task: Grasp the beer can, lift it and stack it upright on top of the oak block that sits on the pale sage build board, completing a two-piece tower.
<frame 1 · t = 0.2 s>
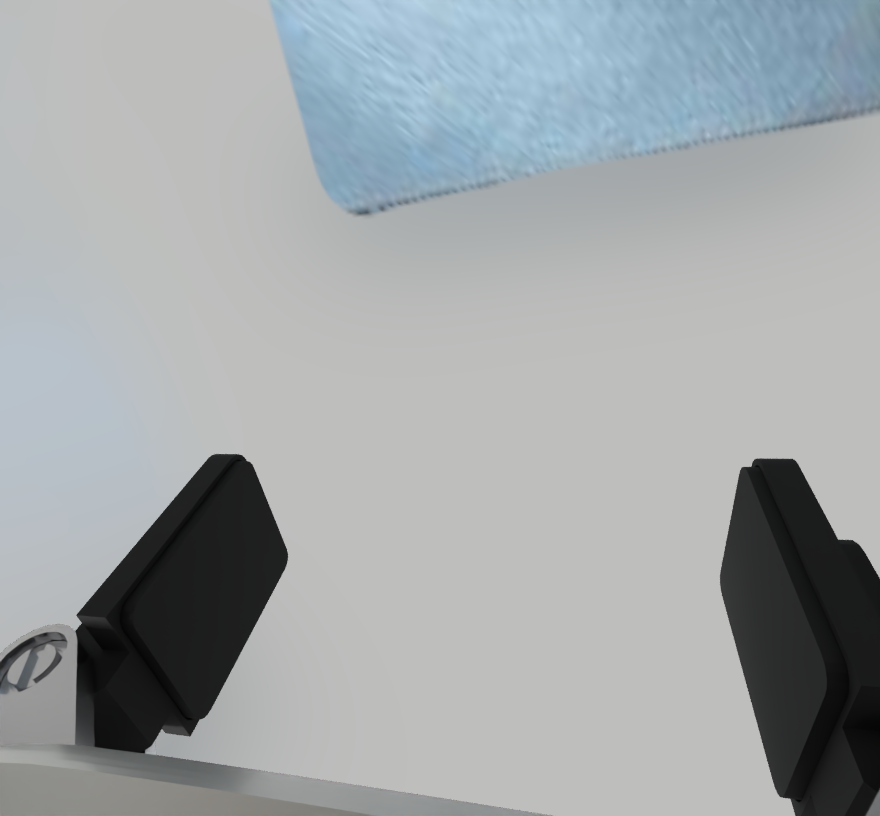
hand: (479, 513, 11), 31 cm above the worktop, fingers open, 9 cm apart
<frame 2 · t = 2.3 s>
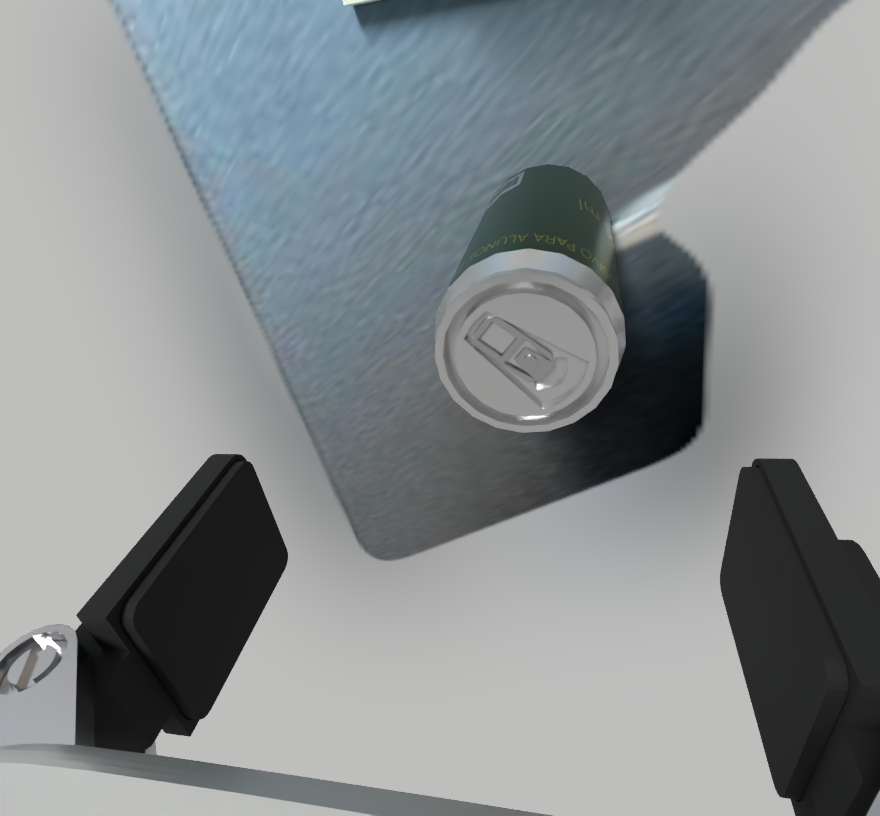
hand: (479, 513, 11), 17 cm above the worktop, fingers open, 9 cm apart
beer can: (546, 224, 25), on the worktop
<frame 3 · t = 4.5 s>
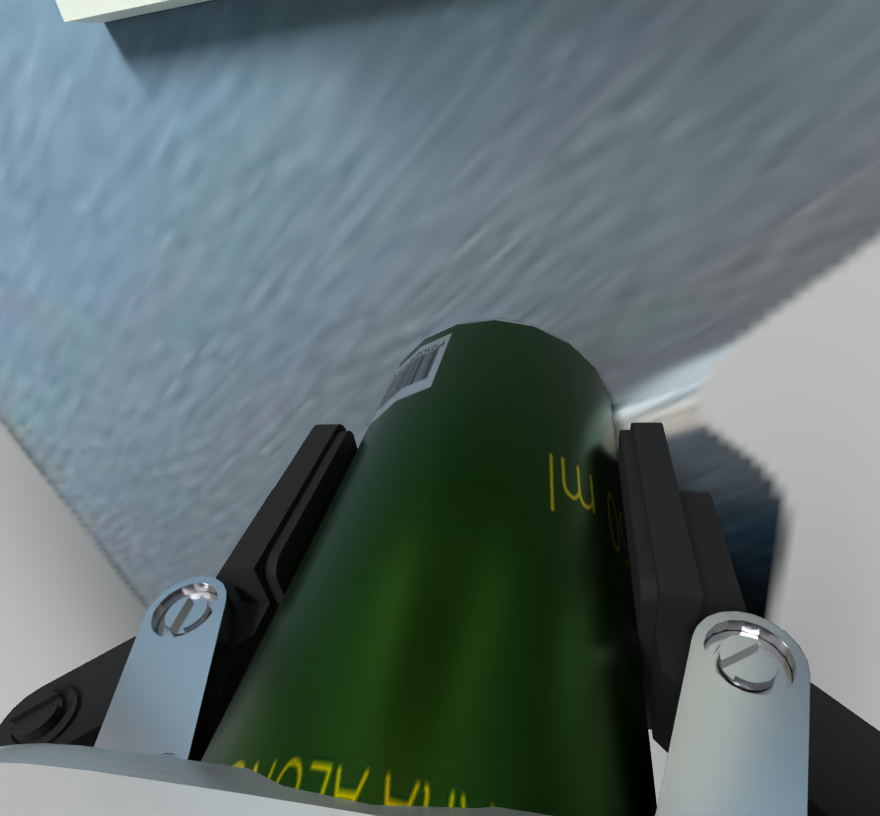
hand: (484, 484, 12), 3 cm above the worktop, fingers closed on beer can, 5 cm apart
beer can: (500, 401, 14), on the worktop, touching gripper
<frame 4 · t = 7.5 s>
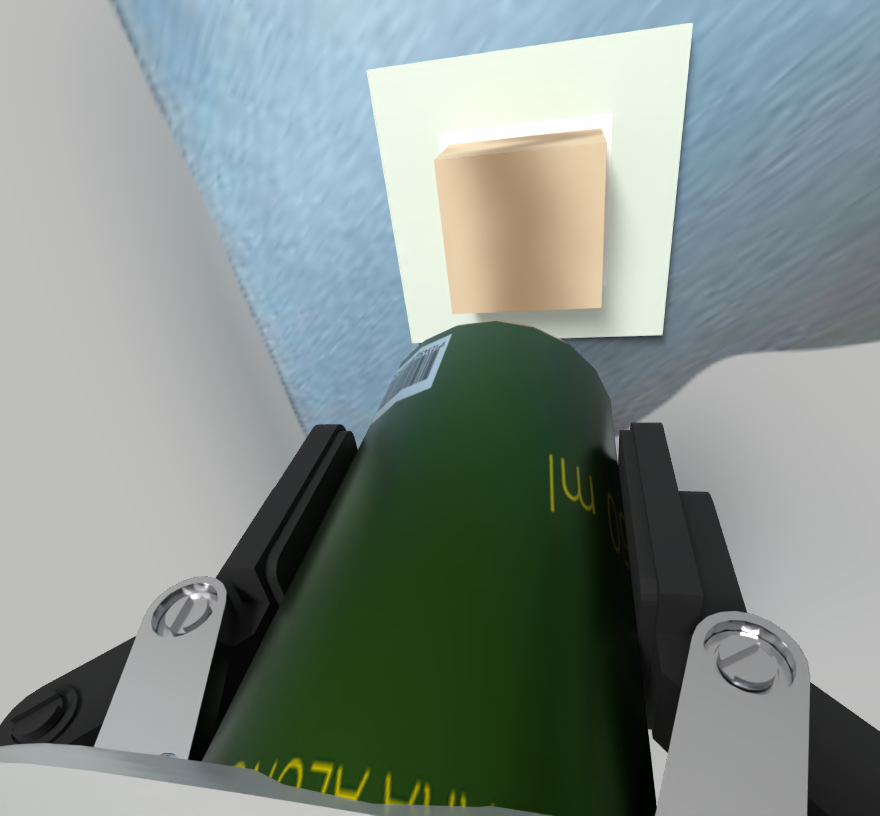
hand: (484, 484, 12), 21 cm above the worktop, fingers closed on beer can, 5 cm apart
oak block: (526, 213, 28), point 1 cm above the worktop, touching build board
build board: (527, 207, 29), on the worktop
beer can: (500, 402, 14), point 18 cm above the worktop, touching gripper
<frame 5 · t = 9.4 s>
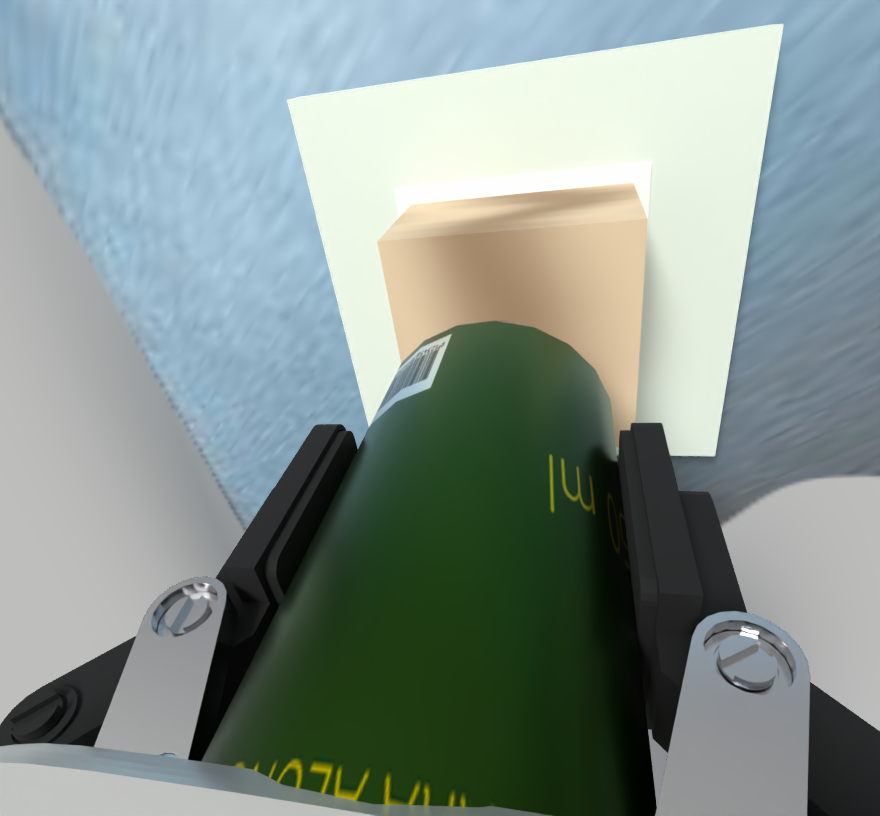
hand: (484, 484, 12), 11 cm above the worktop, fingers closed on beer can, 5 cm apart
oak block: (523, 297, 20), point 1 cm above the worktop, touching build board
build board: (525, 286, 20), on the worktop
beer can: (499, 402, 14), point 8 cm above the worktop, touching gripper
when the fingers open (9 cm above the worktop, at t = 10.6 s): beer can drops 1 cm, resting on oak block.
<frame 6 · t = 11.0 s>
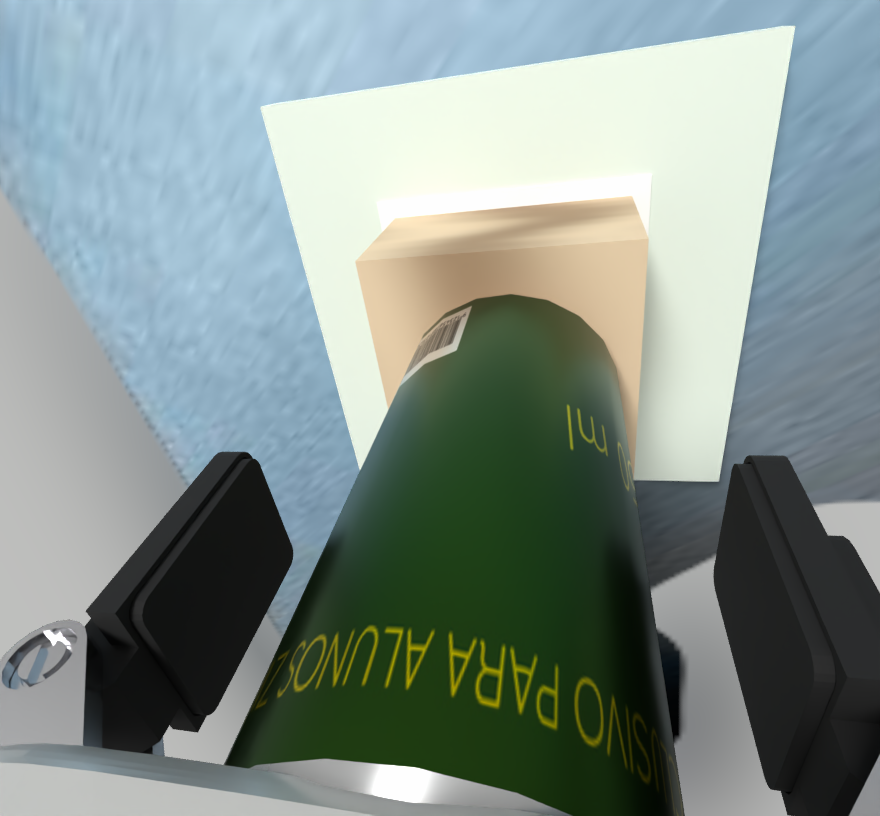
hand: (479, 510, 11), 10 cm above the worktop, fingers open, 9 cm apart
oak block: (515, 316, 18), point 1 cm above the worktop, touching beer can, build board
build board: (517, 303, 19), on the worktop
beer can: (512, 373, 15), point 5 cm above the worktop, touching oak block
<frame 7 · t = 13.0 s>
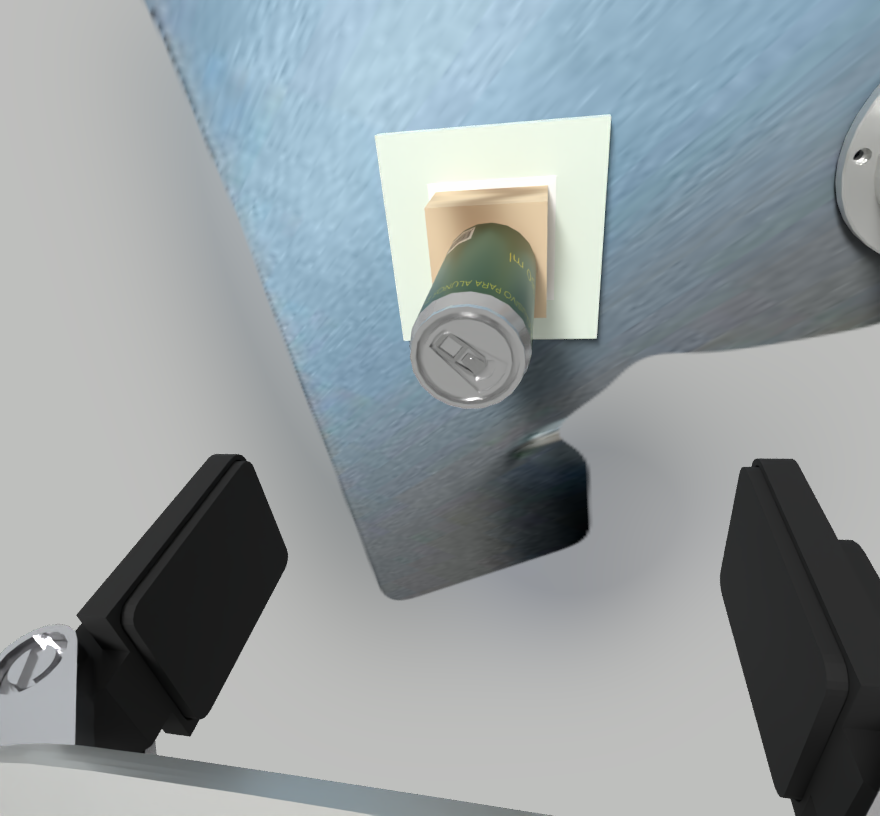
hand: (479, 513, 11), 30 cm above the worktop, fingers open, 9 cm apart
oak block: (493, 244, 37), point 1 cm above the worktop, touching beer can, build board
build board: (494, 239, 38), on the worktop
beer can: (491, 263, 34), point 5 cm above the worktop, touching oak block
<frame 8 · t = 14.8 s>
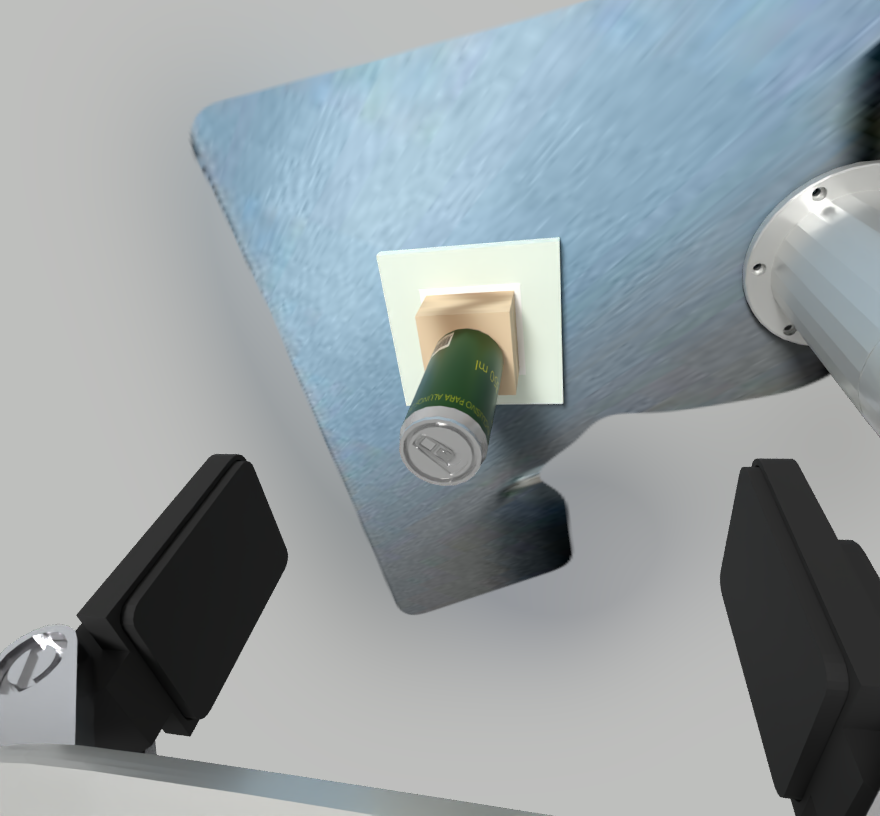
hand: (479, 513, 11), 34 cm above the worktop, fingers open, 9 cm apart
oak block: (473, 333, 46), point 1 cm above the worktop, touching beer can, build board
build board: (475, 327, 47), on the worktop
beer can: (469, 355, 43), point 5 cm above the worktop, touching oak block
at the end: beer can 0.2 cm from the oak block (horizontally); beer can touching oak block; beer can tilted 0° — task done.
